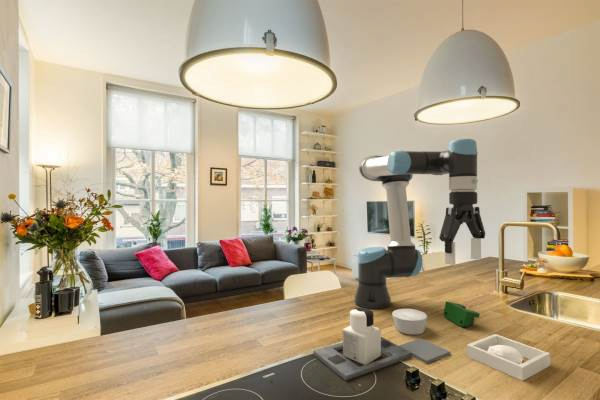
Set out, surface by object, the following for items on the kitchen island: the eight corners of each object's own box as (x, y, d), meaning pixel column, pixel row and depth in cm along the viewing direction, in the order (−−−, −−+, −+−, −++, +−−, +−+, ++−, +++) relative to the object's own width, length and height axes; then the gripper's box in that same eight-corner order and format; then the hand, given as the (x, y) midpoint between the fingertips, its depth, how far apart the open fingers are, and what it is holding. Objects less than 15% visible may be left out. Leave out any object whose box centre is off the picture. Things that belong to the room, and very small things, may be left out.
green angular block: (472, 338, 109) (484, 318, 106) (457, 335, 108) (469, 315, 105) (454, 313, 120) (465, 294, 117) (440, 310, 119) (451, 291, 116)
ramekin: (391, 333, 103) (391, 317, 103) (393, 321, 113) (393, 306, 113) (428, 338, 99) (427, 322, 99) (426, 325, 110) (426, 310, 110)
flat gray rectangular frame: (313, 354, 89) (313, 350, 89) (374, 336, 100) (374, 332, 100) (345, 380, 76) (345, 375, 76) (411, 356, 87) (411, 352, 87)
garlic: (490, 364, 83) (490, 350, 83) (485, 352, 90) (485, 339, 90) (526, 370, 81) (525, 355, 81) (518, 357, 87) (518, 344, 87)
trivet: (398, 348, 92) (397, 345, 92) (421, 340, 97) (421, 338, 97) (426, 363, 84) (426, 360, 84) (450, 354, 89) (450, 351, 89)
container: (358, 346, 94) (358, 303, 94) (381, 355, 88) (380, 309, 88) (342, 356, 88) (342, 310, 88) (365, 366, 83) (365, 317, 83)
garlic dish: (466, 356, 87) (466, 344, 88) (495, 344, 94) (495, 333, 94) (522, 381, 75) (522, 367, 75) (550, 365, 82) (550, 353, 82)
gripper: (450, 190, 85) (450, 269, 85) (497, 191, 98) (498, 259, 98) (425, 191, 91) (426, 264, 91) (473, 191, 104) (474, 255, 104)
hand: (463, 261), depth 94 cm, fingers open, 13 cm apart
